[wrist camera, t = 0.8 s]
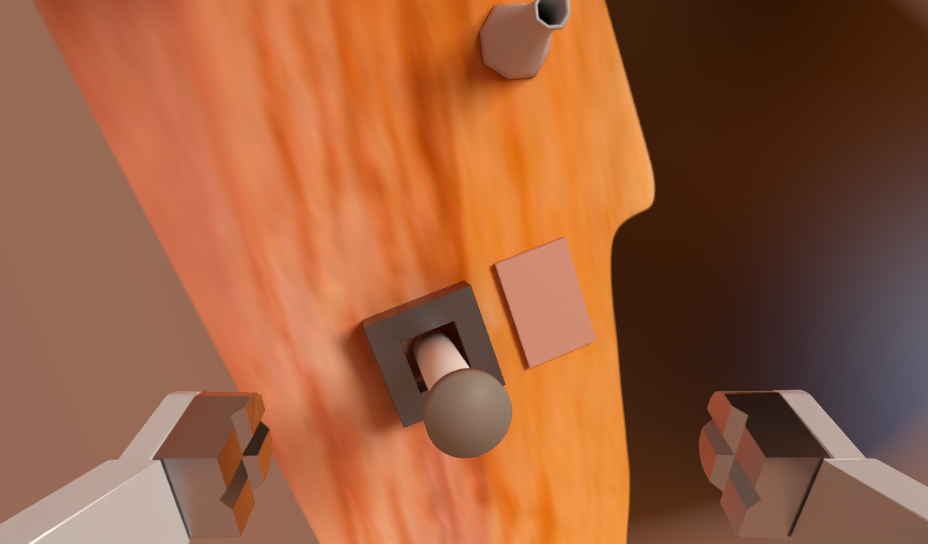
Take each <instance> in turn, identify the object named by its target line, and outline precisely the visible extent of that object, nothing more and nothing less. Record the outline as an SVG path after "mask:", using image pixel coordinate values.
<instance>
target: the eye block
mask: <svg viewBox="0 0 928 544" xmlns="http://www.w3.org/2000/svg"><path fill="white" fill-rule="evenodd" d="M450 322H452V325H453V327H454V330H455V333H456V336H457V338H458V341H459V344H460V347H461V349H462V352H463V355H464V358H465V360H466V363H467V365H468V366H469V368H475V369H480V370H483V371H485V372H487V373H489V374H491V375H492V376H494V377H495V378H496V379H497V380H498V381H499V383H500V384H501V385H502V386H504V385H506V384H505V382H504V379H503V376H502V373H501V370H500V367H499V364H498V361H497V359H496V356H495V353H494V350H493V347H492V344H491V341H490V339H489V336H488V333H487V330H486V327H485V324H484V321H483V319H482V316H481V313H480V310H479V307H478V304H477V301H476V298H475V296H474V293H473V290H472V287H471V285H470V284H468V283H467V282H466V281H461V282H459V283H456V284H454V285H451V286H449V287H446V288H443V289H441V290H438V291H436V292H433V293H431V294H428V295H426V296H423V297H420V298H418V299H415V300H413V301H410V302H408V303H405V304H402V305H400V306H397V307H395V308H392V309H390V310H387V311H384V312H382V313H379V314H377V315H374V316H372V317H369V318H366V319H364V320H363V328H364V330H365V333H366V335H367V338H368V340H369V343H370V345H371V348H372V350H373V353H374V355H375V358H376V360H377V363H378V365H379V368H380V370H381V373H382V375H383V378H384V380H385V382H386V385H387V387H388V390H389V392H390V395H391V397H392V400H393V402H394V405H395V407H396V410H397V412H398V415H399V417H400V420H401V422H402V425H403V427H404V428H405V427H408V426H410V425H412V424H415V423H417V422H419V421H422V420H424V419H423V407H424V402H425V399H426V396H427V394H428V392H429V390H428V388H427V386H426V383H425V381H424V380H422V381H420V382H417V383H416V381H415V378H414V376H413V373H412V370H411V368H410V365H409V363H408V360H407V358H406V355H405V352H404V350H403V347H402V345H401V342H402V341H405V340H407V339H410V338H412V337H415V336H417V335H420V334H422V333H425V332H427V331H430V330H432V329H435V328H437V327H440V326H442V325H445V324H447V323H450Z"/></svg>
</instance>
